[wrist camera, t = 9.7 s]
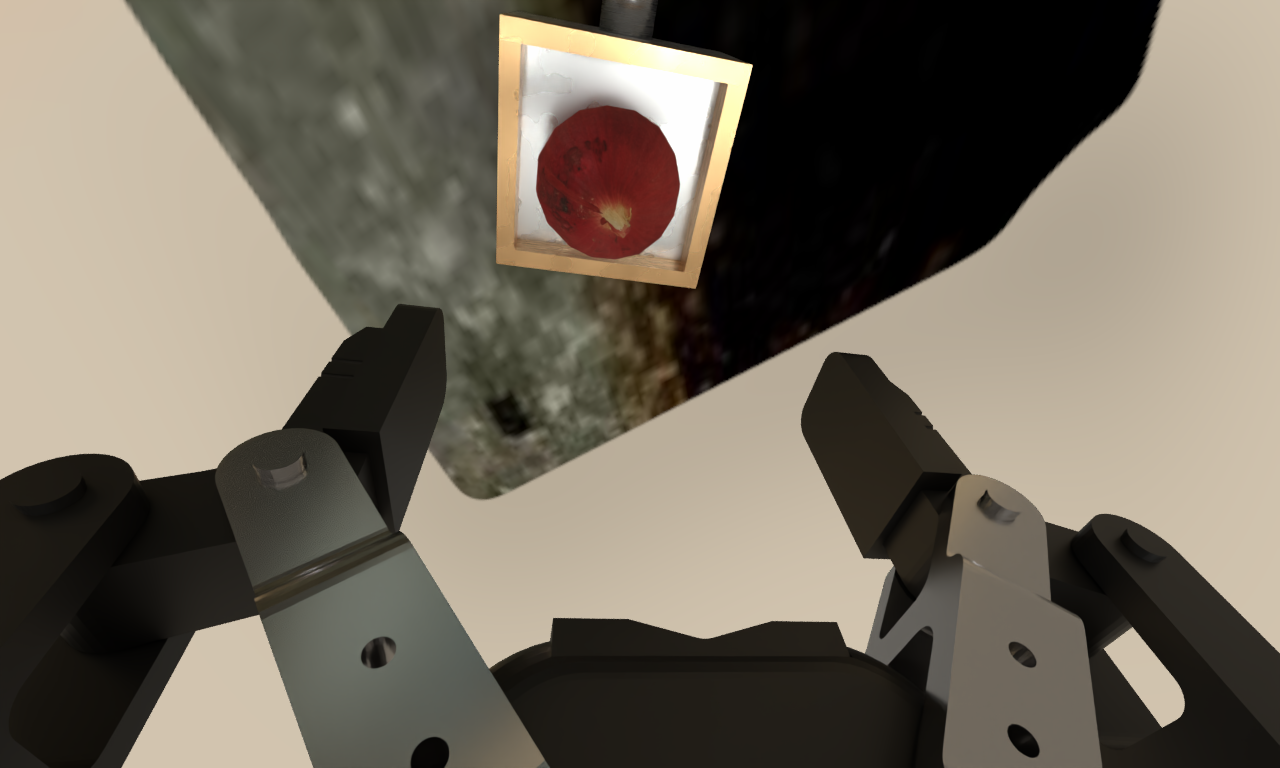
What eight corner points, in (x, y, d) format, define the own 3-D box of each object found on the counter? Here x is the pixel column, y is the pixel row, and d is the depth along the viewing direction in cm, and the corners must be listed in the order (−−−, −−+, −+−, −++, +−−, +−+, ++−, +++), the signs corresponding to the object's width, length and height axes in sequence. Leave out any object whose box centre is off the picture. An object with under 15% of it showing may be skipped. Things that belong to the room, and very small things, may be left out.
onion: (539, 214, 26) (522, 286, 19) (547, 81, 22) (530, 113, 16) (655, 231, 27) (676, 305, 20) (680, 106, 23) (714, 146, 17)
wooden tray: (521, -72, 23) (501, -93, 18) (736, -23, 25) (776, -28, 20) (512, 218, 31) (496, 263, 25) (678, 241, 32) (695, 288, 27)
